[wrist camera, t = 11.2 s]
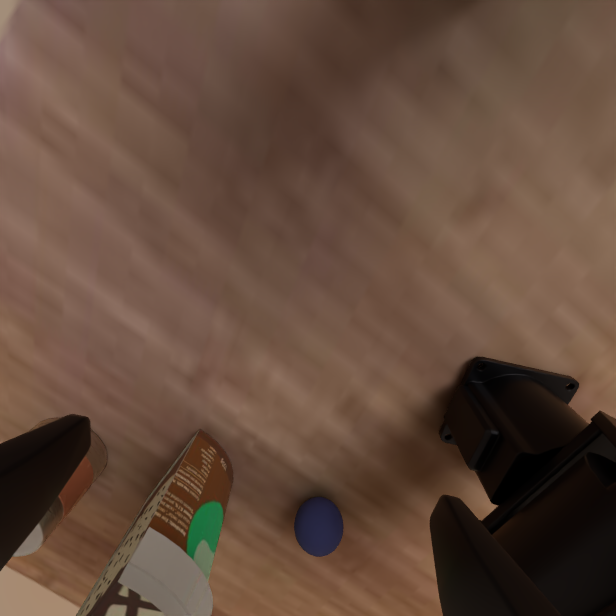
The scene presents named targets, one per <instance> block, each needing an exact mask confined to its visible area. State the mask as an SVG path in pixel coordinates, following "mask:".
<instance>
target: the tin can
mask: <svg viewBox="0 0 616 616" xmlns="http://www.w3.org/2000/svg"><path fill="white" fill-rule="evenodd" d="M58 419H60V418H51V419H47V420H44V421H42V422H40V423H39V424H37V425H36V426H35V427H34V428H32V429H31V430H30V431H32V430H34V429H36V428H39V427H41V426H43V425H46V424H48V423H51V422H53V421H55V420H58ZM106 463H107V452H106V449H105V446H104V444H103V443H102V441H101V440H100V438H99V437H98V436H97V435H96V434H95V433H94V432H93V431H92V430H91V446H90V448H89V450H88V452H87V454H86V455H85V457H84V458H83V460H82V461H81V463H80V464H79V466H78V467H77V469H76V470H75V472H74V473H73V475H72V476H71V478H70V479H69V481H68V482H67V484H66V485H65V487H64V488H63V490H62V491H61V493H60V494H59V496H58V497H57V499H56V500H55V501H54V503H53V504H52V506H51V507H50V509H49V510H48V512H47V513H46V514H45V516H44V517H43V518H42V520H41V521H40V522H39V523H38V525H37V526H36V527H35V529H34V530H33V531H32V532H31V534H30V535H29V536H28V537H27V538H26V540H25V541H24V542H23V543H22V545H21V546H20V547H19V548H18V550H17V551H16V552H15V553H14V555H13V557H16V556H25V555H29V554H31V553H33V552H35V551H37V550H38V549H39V548H40V547H41V546H42V544H43V543H44V542H45V541H46V539H47V538H48V537H49V536H50V534H51V533H52V532H53V531H54V530H55V528H56V527H57V526H58V525H59V524H60V523H61V522H62V521H63V520H64V518H65V517H66V516H67V515H68V514H69V512H70V511H71V510H72V509H73V507H74V506H75V505H76V504H77V502H78V501H79V500H80V499H81V498H82V496H83V495H84V494H85V493H86V491H87V490H88V489H89V488H90V486H91V484H92V483H93V482H94V481H95V479H96V478H97V477H98V476H99V474H100V473H101V472H102V471H103V469H104V468H105V466H106Z"/></svg>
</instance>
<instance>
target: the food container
mask: <svg viewBox="0 0 616 616" xmlns="http://www.w3.org/2000/svg"><path fill="white" fill-rule="evenodd" d="M232 483H233V469H232V465H231V462H230V460H229V458H228V456H227V454H226V453H225V451H224V450H223V448H222V447H221V446H220V445H219V444H218V443H217V441H215V440H214V439H213V438H212V437H211V436H210V435H208V434H207V433H205V432H204V431H202V430H201V429H199V430H198V432H197V433H196V434H195V436H194V437H193V438H192V440H191V441H190V442H189V444H188V445H187V446H186V448H185V449H184V450H183V452H182V453H181V454H180V456H179V457H178V458H177V460H176V461H175V462H174V463H173V465H172V466H171V467H170V469H169V470H168V471H167V473H166V474H165V475H164V477H163V478H162V479H161V481H160V482H159V483H158V485H157V486H156V487H155V489H154V490H153V491H152V493H151V494H150V495H149V497H148V498H147V499H146V501H145V503H144V504H143V506H142V508H141V509H140V511H139V513H138V514H137V516H136V517H135V519H134V521H133V522H132V524H131V526H130V527H129V529H128V531H127V532H126V534H125V536H124V537H123V539H122V541H121V542H120V544H119V545H118V547H117V549H116V550H115V552H114V554H113V555H112V557H111V559H110V560H109V562H108V564H107V565H106V567H105V569H104V570H103V572H102V573H101V575H100V577H99V578H98V580H97V582H96V583H95V585H94V587H93V588H92V590H91V592H90V593H89V595H88V597H87V598H86V600H85V601H84V603H83V605H82V606H81V608H80V610H79V611H78V613H77V615H76V616H211V614H212V609H213V598H212V592H211V589H210V586H209V583H208V579H209V575H210V571H211V567H212V563H213V559H214V555H215V551H216V547H217V543H218V539H219V535H220V531H221V527H222V523H223V519H224V515H225V511H226V507H227V503H228V500H229V496H230V492H231V488H232Z"/></svg>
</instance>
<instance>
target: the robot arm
mask: <svg viewBox="0 0 616 616" xmlns="http://www.w3.org/2000/svg"><path fill="white" fill-rule="evenodd" d="M479 364H483V365H482V366H481V367H477V366H478V365H479ZM569 383H570V384H569ZM567 384H569V385H568V386H566V385H567ZM578 387H579V383H578V382H577V381H576V380H575V379H574V378H572V377H570V376H566V375H562V374H557V373H553V372H548V371H544V370H539V369H535V368H530V367H526V366H521V365H517V364H512V363H507V362H503V361H498V360H494V359H489V358H485V357H476V358H474V359H473V360H472V361H471V363H470V365H469V367H468V369H467V372H466V374H465V376H464V378H463V380H462V382H461V385H460V386H459V387H457V389H456V391H455V394H454V396H453V398H452V400H451V402H450V405H449V407H448V409H447V411H446V413H445V416H444V419H445V420H444V422H443V424H442V426H441V428H440V431H439V435H440V438H441V440H442V441H443V442H446V443H450V444H454V445H457V446H458V448H459V450H460V452H461V454H462V456H463V458H464V460H465V462H466V464H467V466H468V468H469V469H470V470H473V471H475V472H476V474H477V476H478V478H479V480H480V482H481V483H482V485H483V487H484V489H485V491H486V493H487V495H488V497H489V499H490V501H491V503H492V504H495V505H499V506H498V507H497V508H496V509H494V510H493V511H492V512H491V513H490V514H489V515H488V516H487V517H486V518H484V519H483V520H482V521H481V520H478V518H477V517H476V516H475V515H474V514H473V513H472V512H471V510H470V509H469V508H468V507H467V506H466V505H465V504H464V502H463V501H462V500H461V499H459V498H457V497H453V496H449V495H442V496H441V497H440V498H439V500H438V502H437V504H436V506H435V508H434V510H433V512H432V514H431V517H430V532H431V539H432V547H433V554H434V562H435V569H436V577H437V584H438V591H439V598H440V603H441V608H442V613H443V616H616V419H615V418H613V417H611V416H609V415H607V414H606V413H604V412H602V411H599V412H598V413H597V414H596V415H595V416H594V417H592V418H591V421H592V422H591V423H590V424H588V423H587V422H586V421H585V420H584V419H583V418H581V417H580V416H579V415H578V414H577V413H576V412H575V411H574V410H573V409H572V408H571V407H569V406H568V404H569V402H570V401H571V399H572V397H573V396H574V394H575V393H576V391H577V389H578ZM446 434H449V435H447V436H445V435H446ZM90 446H91V427H90V420H89V418H88V417H85V416H81V415H76V414H70V415H67V416H65V417H62V418H60V419H58V420H55V421H53V422H51V423H48V424H46V425H43V426H41V427H39V428H36V429H34V430H32V431H29V432H27V433H25V434H22V435H20V436H17V437H15V438H13V439H10V440H8V441H6V442H3V443H1V444H0V571H1V570H2V568H3V567H4V566H5V565H6V563H7V562H8V561H9V560H10V558H11V557H12V556H13V555H14V553H15V552H16V551H17V550H18V548H19V547H20V546H21V545H22V543H23V542H24V541H25V540H26V538H27V537H28V536H29V535H30V534H31V532H32V531H33V530H34V529H35V527H36V526H37V525H38V523H39V522H40V521H41V520H42V518H43V517H44V516H45V514H46V513H47V512H48V510H49V509H50V507H51V506H52V504H53V503H54V501H55V500H56V499H57V497H58V496H59V494H60V493H61V491H62V490H63V488H64V487H65V485H66V484H67V482H68V481H69V479H70V478H71V476H72V475H73V473H74V472H75V470H76V469H77V467H78V466H79V464H80V463H81V461H82V460H83V458H84V457H85V455H86V454H87V452H88V450H89V448H90Z"/></svg>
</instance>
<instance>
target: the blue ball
mask: <svg viewBox="0 0 616 616" xmlns="http://www.w3.org/2000/svg"><path fill="white" fill-rule="evenodd" d="M294 530H295V536H296V539H297V541H298V543H299V545H300V546H301V547H302V549H303V550H304V551H306V552H307V553H308V554H310V555H313V556H317V557H321V556H326V555H328V554H330V553H332V552H333V551H334V550H335V549H336V548H337V546H338V545H339V543H340V541H341V539H342V535H343V519H342V516H341V513H340V511H339V509H338V508H337V506H336V505H335V504H334V503H333V502H331V501H330V500H328V499H326V498H323V497H314V498H310V499H308V500H307V501H305V502H304V503H303V504H302V505H301V506H300V508H299V510H298V511H297V514H296V517H295V522H294Z"/></svg>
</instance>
